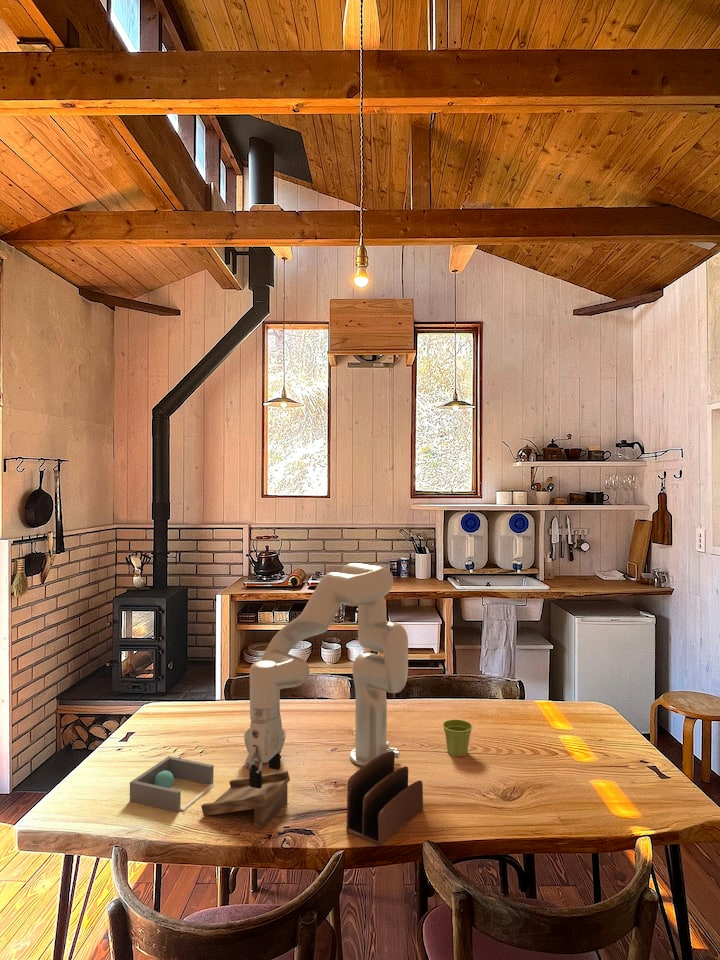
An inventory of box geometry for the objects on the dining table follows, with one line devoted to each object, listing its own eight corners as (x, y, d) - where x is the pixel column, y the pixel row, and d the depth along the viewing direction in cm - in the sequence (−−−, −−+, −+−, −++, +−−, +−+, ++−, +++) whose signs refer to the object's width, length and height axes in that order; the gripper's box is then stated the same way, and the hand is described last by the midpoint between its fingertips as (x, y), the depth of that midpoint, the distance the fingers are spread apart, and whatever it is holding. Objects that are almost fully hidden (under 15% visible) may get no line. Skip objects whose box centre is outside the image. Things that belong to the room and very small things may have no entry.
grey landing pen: (216, 783, 169) (216, 765, 169) (180, 813, 154) (180, 793, 154) (168, 773, 175) (168, 756, 175) (129, 801, 160) (129, 782, 160)
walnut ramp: (290, 801, 160) (290, 771, 160) (263, 830, 147) (264, 797, 147) (231, 788, 166) (231, 759, 166) (201, 815, 153) (201, 783, 153)
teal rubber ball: (179, 772, 167) (165, 764, 168) (167, 781, 162) (153, 772, 164) (174, 788, 167) (160, 780, 169) (162, 797, 163) (148, 788, 164)
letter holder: (345, 832, 147) (346, 774, 147) (391, 798, 163) (392, 745, 163) (379, 847, 141) (380, 787, 141) (423, 810, 157) (424, 755, 157)
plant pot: (437, 755, 187) (437, 727, 187) (448, 743, 196) (448, 716, 196) (467, 762, 183) (467, 733, 183) (476, 750, 191) (476, 722, 191)
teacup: (279, 770, 177) (280, 742, 177) (238, 767, 179) (238, 740, 178) (291, 747, 192) (291, 722, 192) (252, 745, 193) (252, 720, 193)
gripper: (261, 726, 146) (261, 797, 146) (293, 700, 162) (293, 764, 162) (233, 722, 148) (234, 792, 148) (268, 697, 164) (268, 760, 165)
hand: (265, 777), depth 155 cm, fingers open, 9 cm apart
